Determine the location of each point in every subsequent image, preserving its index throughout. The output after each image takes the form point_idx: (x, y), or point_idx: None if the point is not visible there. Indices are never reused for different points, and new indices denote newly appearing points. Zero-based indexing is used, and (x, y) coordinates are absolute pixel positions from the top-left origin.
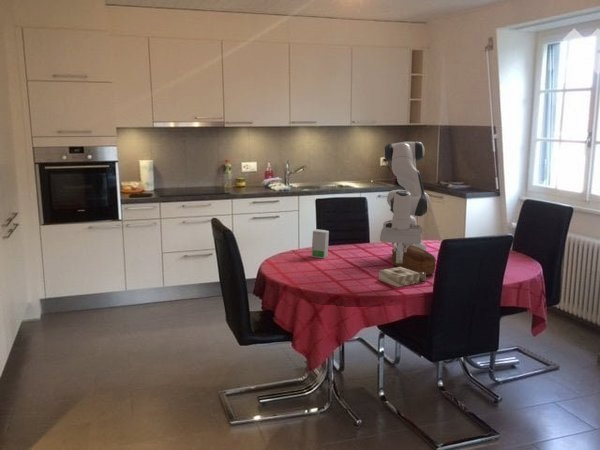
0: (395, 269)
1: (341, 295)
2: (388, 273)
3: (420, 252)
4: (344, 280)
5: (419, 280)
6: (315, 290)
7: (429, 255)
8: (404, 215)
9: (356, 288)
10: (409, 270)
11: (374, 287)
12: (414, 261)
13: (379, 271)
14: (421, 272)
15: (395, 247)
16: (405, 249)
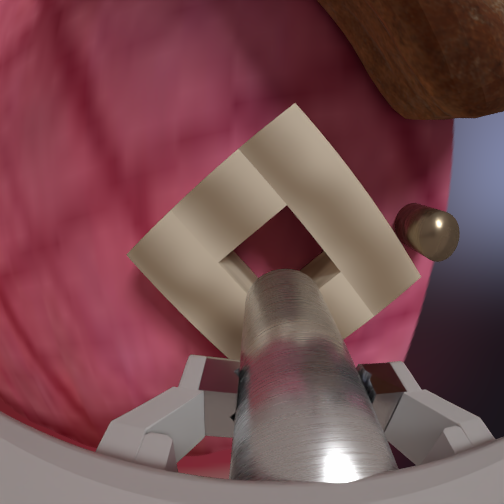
0: (251, 199)
1: (76, 437)
2: (197, 325)
3: (490, 10)
4: (15, 275)
5: (402, 240)
6: (4, 390)
7: None
8: None
9: (86, 382)
10: (366, 213)
11: (148, 370)
12: (428, 88)
13: (130, 253)
14: (438, 225)
15: (214, 400)
16: (381, 425)
